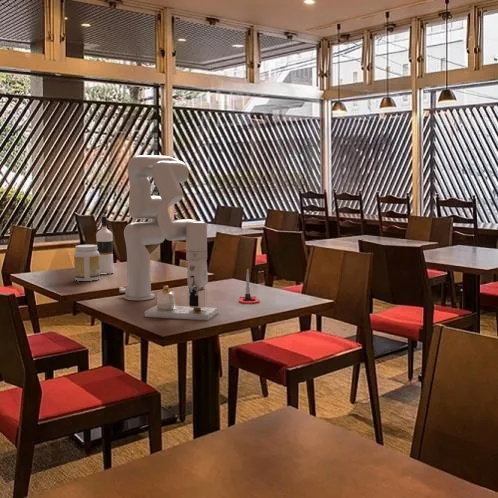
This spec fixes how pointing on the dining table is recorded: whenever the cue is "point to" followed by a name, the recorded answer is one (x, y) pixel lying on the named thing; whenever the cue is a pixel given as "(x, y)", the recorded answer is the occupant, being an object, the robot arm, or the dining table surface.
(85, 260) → the supplement tub
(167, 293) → the white tray with jars
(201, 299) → the sleeve
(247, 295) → the grey tall post
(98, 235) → the vodka
